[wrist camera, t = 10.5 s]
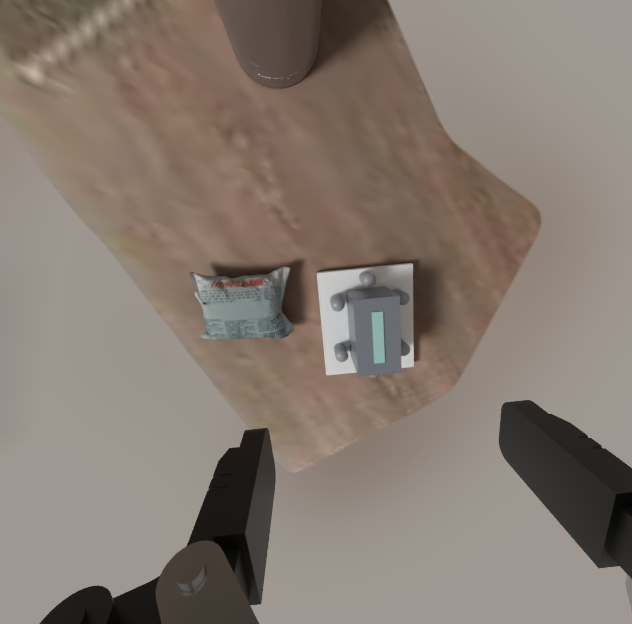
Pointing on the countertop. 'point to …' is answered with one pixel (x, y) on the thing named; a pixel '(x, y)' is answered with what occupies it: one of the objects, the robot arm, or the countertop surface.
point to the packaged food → (243, 305)
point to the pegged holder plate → (336, 312)
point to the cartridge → (374, 330)
